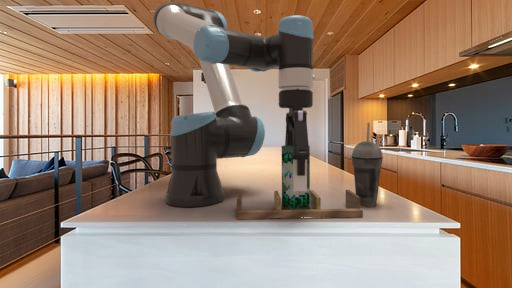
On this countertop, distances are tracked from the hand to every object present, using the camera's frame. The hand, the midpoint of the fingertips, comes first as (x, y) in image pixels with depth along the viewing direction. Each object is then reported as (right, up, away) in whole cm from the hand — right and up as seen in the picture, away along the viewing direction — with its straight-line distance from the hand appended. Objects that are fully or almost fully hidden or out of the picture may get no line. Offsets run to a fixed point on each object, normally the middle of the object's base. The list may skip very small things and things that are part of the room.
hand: (295, 184), depth 69 cm
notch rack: (0, -6, 0) cm, 6 cm away
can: (0, -6, 0) cm, 6 cm away
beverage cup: (+18, -6, +5) cm, 20 cm away
